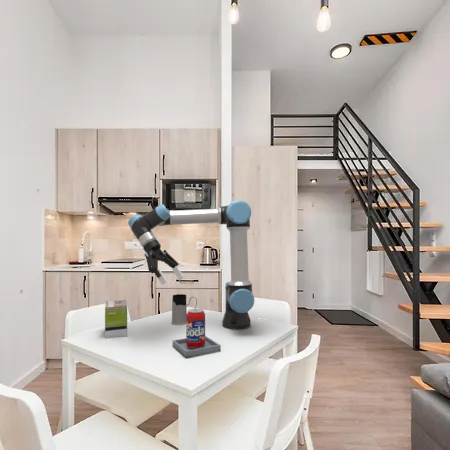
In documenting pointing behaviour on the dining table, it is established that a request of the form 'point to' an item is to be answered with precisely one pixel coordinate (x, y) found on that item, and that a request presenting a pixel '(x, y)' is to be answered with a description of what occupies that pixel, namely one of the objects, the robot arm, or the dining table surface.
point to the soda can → (195, 328)
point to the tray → (188, 352)
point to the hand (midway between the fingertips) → (173, 281)
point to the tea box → (115, 319)
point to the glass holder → (179, 309)
